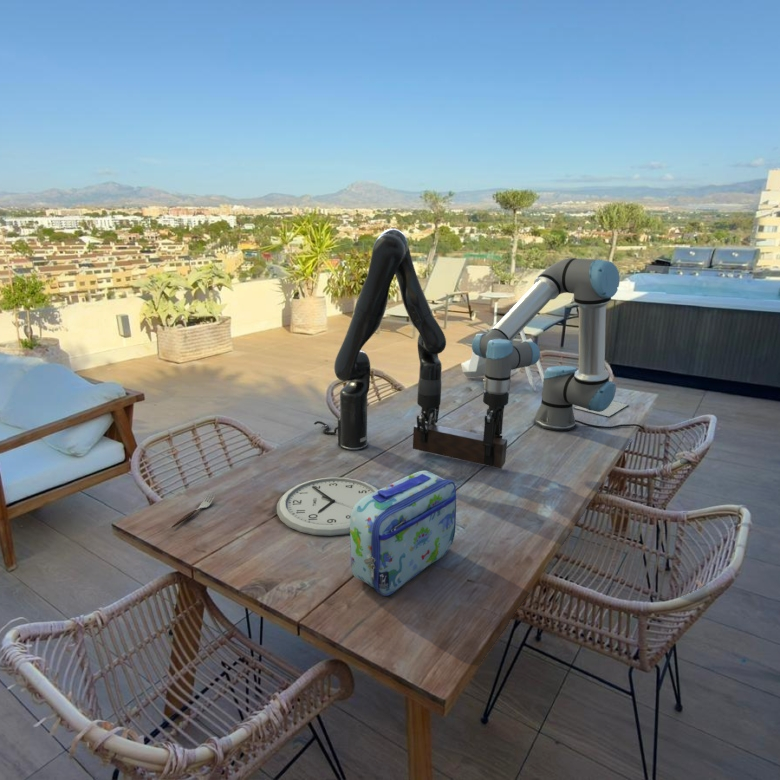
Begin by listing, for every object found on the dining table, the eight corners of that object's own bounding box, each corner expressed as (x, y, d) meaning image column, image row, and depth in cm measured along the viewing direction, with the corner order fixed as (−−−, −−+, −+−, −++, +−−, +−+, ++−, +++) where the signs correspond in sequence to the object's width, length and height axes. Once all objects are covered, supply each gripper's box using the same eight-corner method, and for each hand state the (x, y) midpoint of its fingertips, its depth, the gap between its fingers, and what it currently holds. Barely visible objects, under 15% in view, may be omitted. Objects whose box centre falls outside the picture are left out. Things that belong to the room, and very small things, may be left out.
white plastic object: (482, 419, 265) (461, 396, 241) (463, 346, 287) (443, 319, 263) (553, 395, 253) (539, 368, 228) (528, 321, 275) (513, 290, 250)
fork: (167, 528, 130) (166, 521, 130) (209, 498, 145) (208, 492, 144) (175, 530, 130) (174, 523, 129) (216, 500, 144) (216, 494, 143)
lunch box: (378, 608, 104) (379, 516, 98) (343, 583, 112) (342, 495, 105) (459, 554, 122) (465, 473, 116) (425, 535, 129) (428, 458, 123)
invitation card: (608, 416, 214) (573, 407, 224) (608, 416, 214) (573, 408, 224) (628, 404, 229) (594, 396, 238) (628, 405, 229) (594, 397, 238)
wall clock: (392, 527, 129) (268, 531, 127) (391, 533, 130) (269, 537, 127) (383, 473, 158) (282, 475, 155) (383, 478, 158) (282, 480, 156)
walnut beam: (505, 462, 166) (507, 439, 163) (500, 468, 162) (503, 445, 159) (418, 443, 179) (419, 421, 176) (412, 448, 174) (413, 426, 172)
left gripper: (427, 383, 176) (425, 430, 182) (409, 394, 164) (407, 444, 169) (448, 386, 173) (445, 434, 178) (431, 398, 161) (429, 449, 166)
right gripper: (492, 381, 167) (487, 447, 175) (475, 397, 152) (470, 469, 159) (516, 384, 164) (510, 452, 171) (500, 401, 149) (494, 475, 156)
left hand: (427, 439), depth 174 cm, fingers closed on walnut beam, 5 cm apart
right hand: (490, 460), depth 165 cm, fingers closed on walnut beam, 5 cm apart
